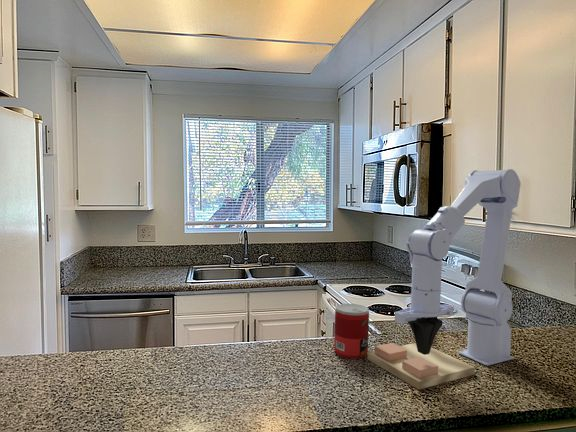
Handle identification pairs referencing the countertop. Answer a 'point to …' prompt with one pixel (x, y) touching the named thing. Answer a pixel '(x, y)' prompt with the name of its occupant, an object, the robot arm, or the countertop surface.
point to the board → (446, 364)
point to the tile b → (420, 367)
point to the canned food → (351, 331)
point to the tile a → (390, 351)
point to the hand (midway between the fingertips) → (423, 352)
